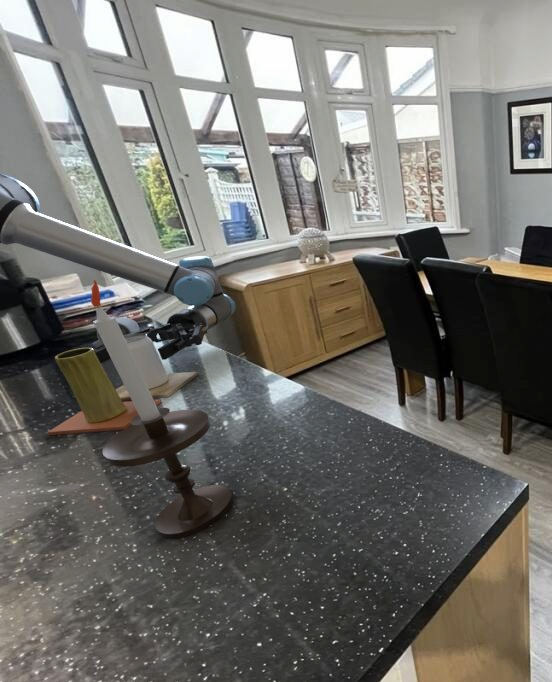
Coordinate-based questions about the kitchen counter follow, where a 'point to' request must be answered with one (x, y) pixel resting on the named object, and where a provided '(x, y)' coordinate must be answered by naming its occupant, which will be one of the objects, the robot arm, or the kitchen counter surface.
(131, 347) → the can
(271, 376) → the kitchen counter surface
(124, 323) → the ceramic mug
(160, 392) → the birch mat
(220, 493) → the candlestick
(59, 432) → the terracotta mat
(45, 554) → the kitchen counter surface
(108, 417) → the vase
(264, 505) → the kitchen counter surface
